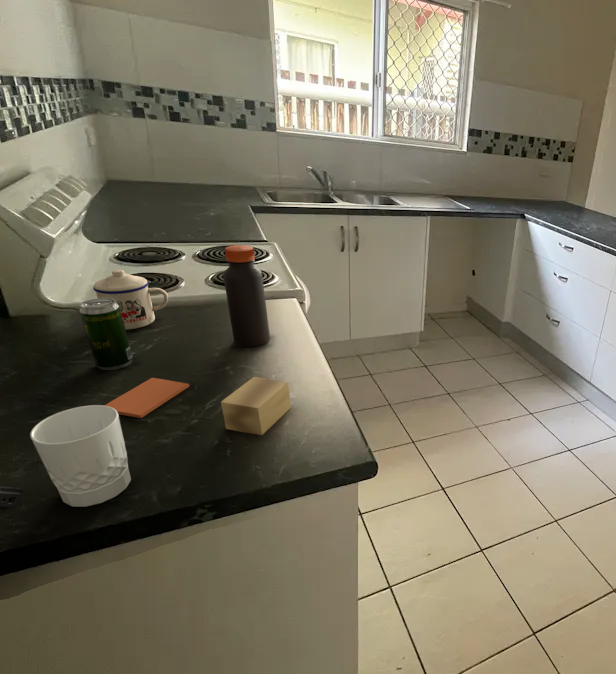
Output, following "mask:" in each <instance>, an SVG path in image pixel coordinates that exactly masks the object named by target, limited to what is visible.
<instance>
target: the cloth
mask: <svg viewBox="0 0 616 674" xmlns="http://www.w3.org/2000/svg"><path fill="white" fill-rule="evenodd" d="M189 387H190V384H189V383H186V382H180V381H174V380H169V379H163V378H156V377H151V378H149V379H147V380H146V381H144V382H142V383H140V384H139V385H137V386H135V387H134V388H132V389H130V390H129V391H126V392H125V393H123V394H121V395H120V396H118V397H116V398H115V399H112V400H111V401H109V402H107V403H106V404H104V405H103V406H109V407H112V408H114V409H115V410H116V411H117V412H118V415H120V416H125V417H126V416H127V417H132V418H138V419H142V418H145V417H146V416H147V415H148V414H150V413H151V412H153V411H154V410H156V409H158V408H159V407H160V406H162V405H163V404H165V403H167V402H168V401H170V400H171V399H173V398H174V397H176V396H177V395H179V394H180V393H182V392H184V391H185V390H186V389H188V388H189Z"/></svg>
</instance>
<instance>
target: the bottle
mask: <svg viewBox="0 0 616 674" xmlns="http://www.w3.org/2000/svg"><path fill="white" fill-rule="evenodd" d="M224 253H225V254H224V255H225V260H226V263H228V267H227V268H226V269H225V270H224V272H223V274H222V277H223V282H224V288H225V294H226V300H227V308H228V313H229V319H230V326H231V332H232V337H233V338H232V339H233V343H234V344H235V345H236V346H239V347H242V348H256V347H260V346H264V345H265V344H268V343H269V341H270V340H271V334H270V327H269V325H270V324H269V318H268V311H267V302H266V295H265V287H264V280H263V279H264V278H263V272H262V270H261V269H259V268H258V267H257V266H256V265H255V264H254V262H256V260H255V250H254V247H253V246H251V245H247V244H246V245H245V244H236V245H235V244H234V245H229V246H226V247H224Z"/></svg>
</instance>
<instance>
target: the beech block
mask: <svg viewBox="0 0 616 674" xmlns="http://www.w3.org/2000/svg"><path fill="white" fill-rule="evenodd" d="M220 405H221V410H222V415H223V420H224V426H225V429H226V430H229V431H236V432H241V433H247V434H252V435H258V436H263V435H264V434H265V433H266V432H267V431H268V430H270V429H271V427H272V426H274V424H276V423H277V422H278V421H279V420H280V419H281V418H282V417H283V416H284V415H286V413H287V412H289V410H290V409H291V408H292V405H291V396H290V388H289V382H288V381H283V380H277V379H270V378H264V377H259V376H253V377H252V378H251V379H249V380H248V381H246V382H245V383H244V384H242V385H241V386H240V387H239V388H237V389H236V390H234V391H233V392H232V393H231V394H229V395H227V397H225V398H224V399H222V401H220Z"/></svg>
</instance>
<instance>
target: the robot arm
mask: <svg viewBox="0 0 616 674" xmlns="http://www.w3.org/2000/svg"><path fill="white" fill-rule="evenodd" d="M23 494H24V489H23V488H21V487H15V486H10V485H0V511H12V510H14V509H15V508H17V506H18V504H19V502H20V500H21V498H22V496H23Z"/></svg>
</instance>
